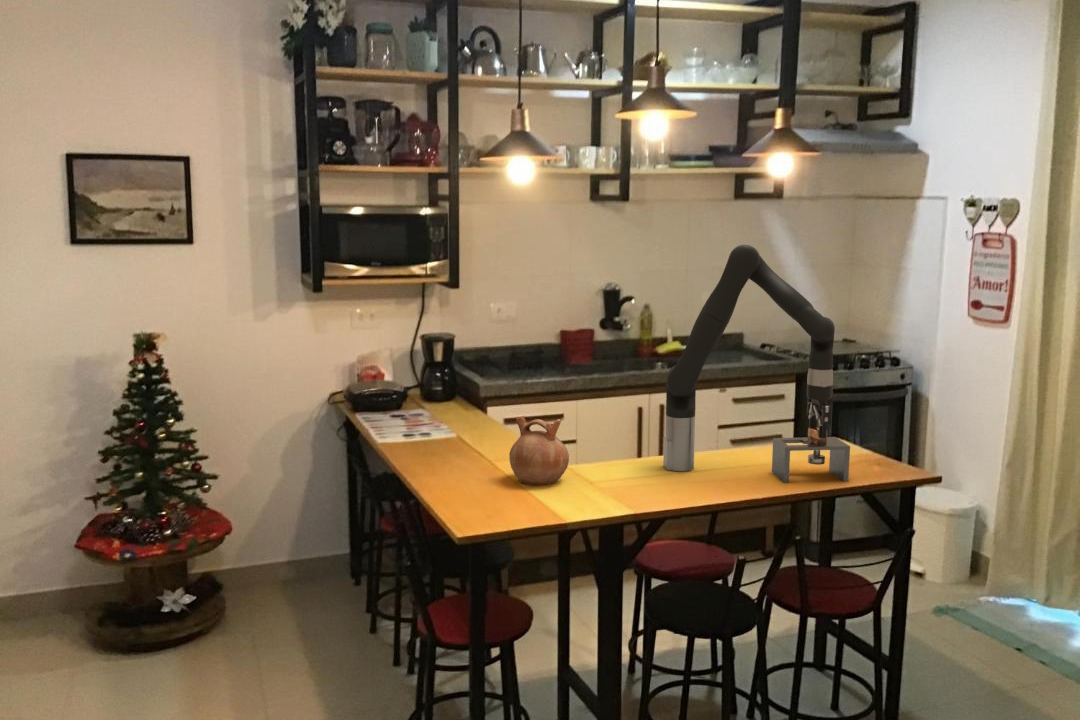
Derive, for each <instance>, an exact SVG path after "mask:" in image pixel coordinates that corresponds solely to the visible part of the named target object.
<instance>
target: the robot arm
mask: <svg viewBox="0 0 1080 720" xmlns="http://www.w3.org/2000/svg"><path fill="white" fill-rule="evenodd" d="M749 280H750V281H752V282H753V283H755V284H756V285H757V286H758V287H759V288H760V289H762V290H763V291H764V292H765V293H766V294H767V295H768V296H769V298H770V299H771V300H772V301H773V302H774V303H775V304H776V305H777V306H778V307H779V308H780V309H782V311H783V312H785V313H786V314H787V315H788V316H789V317H790V318H791V319H792V320H794V321H795V322H796V323H797V324H799V326H800V328H802V330H804V331H805V333H807V334H808V335H809V336H810V351H809V355H808V371H807V377H806V378H807V380H806V381H807V382H806V397H807V401H806V416H807V417H808V421H809V422H808V423H809V424H808V425H809V426H808V428H811V427H819V438H826V437H828V427H829V426H831V424H832V406H831V405H828V403H827V401H829V400H831V399H832V398H833V387H834V372H833V370H834V369H833V368H834V352H833V351H834V350H833V349H834V342H835V341H834V340H835V332H836V331H835V330H836V328H835V324H834V322H833V320H831V318H829V317H826V316H823V315H822V313H820V312H819V311H818V310H817V309H815V307H814V306H813V304H812V303H811V302H810V301H809V300H808V299H807V298H806V297H804V296H803V295H802V294H801V293H800V292H799V291H798V290H796V289H795V288H794V287H793V286H791V285H790V284H789V283H788V282H787V281H785V280H784V279H783V278H781V277H780V276H779V275H778V273H776V272H775V271H774V270H773V269H772V268H771V267H770V266H769V265H768V263H766V261H765V260H764V259H763V257H762V255H760V253H759V251H758V250H757V248H755V247H753V246H751V245H749V244H739V245H738V246H736V247H734V248H733V249H732V250H731V252H730V253H729V255H728V259H727V262H726V264H725V267H724V269H723V272H722V275H721V277H720V278H719V281H718V283H716V286H715V288H714V289H713V290H712V291H711V293H710V294H709V297H708V298H707V300H706V301H705V303H704V304H703V306H702V308H701V310H700V312H699V314H698V316H697V318H696V319H695V321H694V324H693V327H692V328H691V332H690V334H689V337H688V340H687V343H686V345H685V348H684V350H683V353H682V354H681V356H680V358H679V359H678V360H677V362H676V364H675V365H673V366H672V367H671V368H670V369H669V370H668V372H667V375H666V388H665V389H666V396H665V397H666V398H665V399H666V400H665V436H664V437H663V467H664V469H666V471H674V472H689V471H692V470H694V469H695V441H696V440H695V439H696V437H695V436H696V431H695V429H696V398H697V397H696V396H697V395H696V394H697V393H696V392H697V389H696V388H697V383H698V379H699V378H700V374H701V372H702V370H703V368H704V365H705V364H706V362H707V359H708V358H709V357H710V355H711V353H712V352H713V350H714V349H715V348H716V345H717V344H718V342H719V341H720V339H721V337H723V334H724V332H725V330H726V328H727V326H728V325H729V322H730V321H731V319H732V316H733V313H734V311H735V308H736V306H737V302H738V300H739V297H740V295H741V292H742V291H743V288H744V287H745V285H746V284H747V282H748V281H749ZM818 425H819V426H818Z"/></svg>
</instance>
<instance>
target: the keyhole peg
mask: <svg viewBox="0 0 1080 720" xmlns="http://www.w3.org/2000/svg"><path fill="white" fill-rule="evenodd" d="M807 437H808V442H809V443H812V444H826V443H827V437H828V436H827V437H826V438H819V426H817V427H811V428H809V427H808V429H807ZM812 451H813V453H811V454H808V455H807V463H808V464H810V465H817V466H820V465H824V464H825V463H826V462H825V461H826V460H825V459H826V456H825V455H823V454H821V450H812Z"/></svg>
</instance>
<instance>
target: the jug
mask: <svg viewBox="0 0 1080 720" xmlns="http://www.w3.org/2000/svg"><path fill="white" fill-rule="evenodd" d="M515 420H516V424H517V426H518V429H519V431H520V432H519V433H520V436H519V437H518V438H517V440H516V441H514V443H513V444H512V446H511V448H510V451H509V456H508V457H509V464H510V468H511V470H512V472H513V473H514V475H515V477H516V478H517V480H518V481H519V482H520V484H523V485H526V486H533V487H544V486H546V487H547V486H551V485H554V483H555V484H556V483H558V481H559V480H560V479H561V477H563V476H564V474H565V473H566V470H567V469H568V466H569V461H570V454H569V451H568V449H567V447H566V446H565V444H564V443H563V442H562V441H561V439H559V437H558V436H557V433H558V430H559V428H560V425H561V422H562V421H561V419H559V418H558V419H556V420H554V422H553V423H552V422H546V421H545V420H543V419H540V418H537V419H533V420H530V421H529V422H527V420H526V418H525V416H524V415H521V416H519V417H517V418H516V419H515ZM534 425H535V426H536V425H537V426H540V427H542V428H544V429H545V430H546V431H545V430H532V429H531V426H534Z"/></svg>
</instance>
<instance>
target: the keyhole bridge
mask: <svg viewBox="0 0 1080 720" xmlns="http://www.w3.org/2000/svg"><path fill="white" fill-rule="evenodd" d="M791 444H792V445H791ZM813 450H820V451H829V464H828V465H829V468H828V471H829V472H830V473H832V474H833V475H834V476H835V477H837V478H838V479H839V480H841V481H842V482H849V477H850V476H849V475H850V459H851V458H850V454H851V446H850V445H848V444H847V443H846V442H845V441H843V440H841V439H839V438H838V437H836V436H827V443H826V444H812V443H809V442H808V436H807V437H806V436H805V437H773V438H772V452H771V453H772V454H771V455H772V458H771V459H772V461H771V473H772V474H773V475H774V476H775V477H777V478H778V479H779V480H780V481H781V482H782V483H784V484H789V483H790V468H791V467H790V461H791V452H793V451H799V452H800V451H813Z"/></svg>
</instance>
